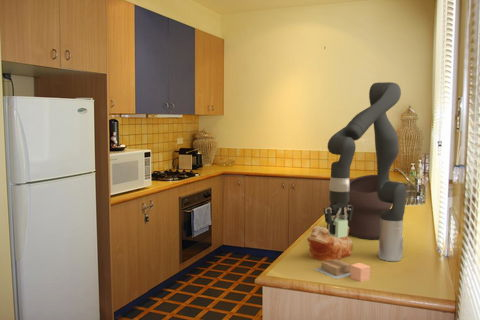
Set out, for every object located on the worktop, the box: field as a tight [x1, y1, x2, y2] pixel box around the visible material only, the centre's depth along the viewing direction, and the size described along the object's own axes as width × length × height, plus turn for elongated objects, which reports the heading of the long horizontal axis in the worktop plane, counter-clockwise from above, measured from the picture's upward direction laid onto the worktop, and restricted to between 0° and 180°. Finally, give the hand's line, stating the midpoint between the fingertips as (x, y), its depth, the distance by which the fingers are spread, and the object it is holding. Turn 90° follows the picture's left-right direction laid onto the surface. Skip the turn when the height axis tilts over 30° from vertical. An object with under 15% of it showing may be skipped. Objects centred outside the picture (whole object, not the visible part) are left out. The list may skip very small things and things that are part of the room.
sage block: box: [328, 218, 348, 238], centre depth 175 cm, size 5×5×6 cm
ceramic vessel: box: [306, 225, 354, 262], centre depth 196 cm, size 14×26×15 cm, turn 135°
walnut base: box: [320, 259, 352, 276], centre depth 177 cm, size 8×8×3 cm
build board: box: [313, 267, 350, 280], centre depth 177 cm, size 12×12×1 cm
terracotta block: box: [349, 262, 371, 283], centre depth 169 cm, size 5×5×6 cm
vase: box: [348, 174, 393, 240], centre depth 234 cm, size 27×27×30 cm
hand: (337, 233), depth 175 cm, fingers closed on sage block, 5 cm apart
